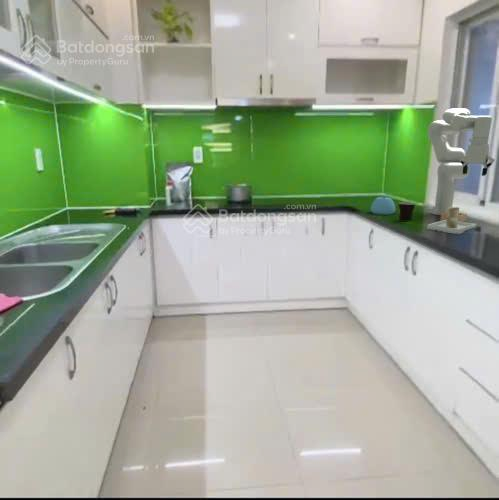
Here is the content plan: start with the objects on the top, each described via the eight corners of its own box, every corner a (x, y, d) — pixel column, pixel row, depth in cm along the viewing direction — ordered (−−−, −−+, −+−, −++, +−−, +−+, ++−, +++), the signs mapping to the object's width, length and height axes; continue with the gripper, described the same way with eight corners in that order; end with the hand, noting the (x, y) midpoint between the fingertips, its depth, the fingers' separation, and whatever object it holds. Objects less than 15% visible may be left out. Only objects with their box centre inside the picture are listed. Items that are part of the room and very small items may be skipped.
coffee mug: (400, 218, 228) (401, 201, 225) (415, 220, 222) (417, 203, 220) (393, 221, 219) (394, 204, 216) (408, 223, 214) (410, 205, 211)
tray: (427, 229, 200) (427, 224, 199) (445, 224, 212) (445, 219, 211) (458, 234, 188) (458, 229, 187) (475, 228, 200) (476, 224, 199)
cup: (440, 222, 216) (441, 213, 215) (448, 220, 222) (449, 211, 220) (457, 225, 209) (459, 216, 207) (465, 222, 214) (466, 213, 213)
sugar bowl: (397, 212, 249) (398, 194, 246) (392, 216, 236) (394, 197, 233) (373, 210, 256) (374, 193, 253) (367, 214, 244) (369, 195, 241)
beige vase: (444, 226, 200) (446, 207, 197) (449, 225, 203) (451, 206, 200) (454, 228, 196) (456, 208, 194) (458, 226, 199) (461, 207, 196)
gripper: (459, 141, 204) (454, 173, 209) (494, 141, 191) (488, 176, 196) (466, 140, 208) (461, 172, 213) (501, 141, 195) (494, 175, 200)
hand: (474, 174), depth 204 cm, fingers open, 9 cm apart
